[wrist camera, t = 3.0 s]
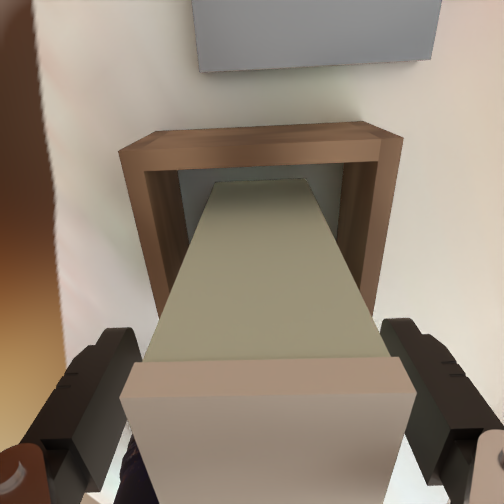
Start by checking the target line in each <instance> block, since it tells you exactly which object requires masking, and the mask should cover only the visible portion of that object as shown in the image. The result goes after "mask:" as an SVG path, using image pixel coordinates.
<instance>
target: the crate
mask: <svg viewBox="0 0 504 504" xmlns="http://www.w3.org/2000/svg"><path fill="white" fill-rule="evenodd" d="M403 139H404V138H403V137H401V136H398V135H396V134H393V133H391V132H388V131H386V130H383V129H381V128H379V127H376V126H374V125H371V124H369V123H366V122H364V121H359V122H339V123H318V124H297V125H277V126H256V127H235V128H215V129H194V130H173V131H155V132H153V133H151V134H150V135H148V136H146V137H144V138H142V139H140V140H138V141H136V142H134V143H132V144H131V145H129V146H127V147H125V148H123V149H121V150H119V151H118V153H119V157H120V161H121V165H122V169H123V173H124V177H125V181H126V185H127V189H128V194H129V198H130V202H131V206H132V210H133V214H134V218H135V222H136V226H137V230H138V235H139V239H140V243H141V247H142V251H143V255H144V259H145V263H146V267H147V271H148V276H149V280H150V284H151V288H152V292H153V296H154V300H155V304H156V308H157V313H158V317H159V319H160V317H161V314H162V312H163V310H164V307H165V305H166V302H167V300H168V297H169V295H170V292H171V290H172V287H173V285H174V282H175V280H176V278H177V275H178V273H179V270H180V268H181V265H182V263H183V260H184V258H185V255H186V253H187V250H188V248H189V240H188V234H187V227H186V221H185V215H184V209H183V203H182V196H181V190H180V184H179V178H178V172H177V170H184V169H207V168H230V167H252V166H275V165H298V164H321V163H344V165H343V176H342V187H341V198H340V209H339V220H338V231H337V242H336V243H337V245H338V247H339V249H340V251H341V254H342V256H343V258H344V260H345V262H346V264H347V266H348V268H349V270H350V272H351V274H352V277H353V279H354V281H355V283H356V285H357V287H358V289H359V291H360V293H361V295H362V298H363V300H364V302H365V304H366V306H367V308H368V310H369V312H370V314H371V316H373V310H374V305H375V299H376V293H377V287H378V282H379V276H380V270H381V265H382V259H383V253H384V247H385V242H386V236H387V230H388V225H389V219H390V213H391V207H392V202H393V196H394V190H395V185H396V179H397V173H398V167H399V162H400V156H401V150H402V145H403Z"/></svg>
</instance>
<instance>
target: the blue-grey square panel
mask: <svg viewBox="0 0 504 504" xmlns="http://www.w3.org/2000/svg"><path fill="white" fill-rule="evenodd" d="M441 3H442V0H192V8H193V17H194V26H195V35H196V45H197V54H198V63H199V72H201V73H208V72H226V71H244V70H263V69H281V68H299V67H317V66H336V65H354V64H372V63H390V62H408V61H423V60H431V55H432V50H433V45H434V39H435V34H436V29H437V24H438V19H439V13H440V8H441Z"/></svg>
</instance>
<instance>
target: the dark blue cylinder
mask: <svg viewBox="0 0 504 504" xmlns="http://www.w3.org/2000/svg"><path fill="white" fill-rule="evenodd" d="M120 480H121V482H120V485H119V488H118V491H117V494H116V497H115V500H114V503H113V504H159V501H158V498H157V496H156V493H155V490H154V488H153V485H152V483H151V480H150V477H149V475H148V472H147V469H146V467H145V464H144V462H143V459H142V456H141V454H140V451H139V448H138V446H137V443H136V441H135V438H134V435H133V433H132V435H131V438H130V442H129V444H128V449H127V452H126V453H125V455H124V457H123V459H122V466H121V469H120Z"/></svg>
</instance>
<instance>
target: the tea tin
mask: <svg viewBox="0 0 504 504" xmlns="http://www.w3.org/2000/svg"><path fill="white" fill-rule="evenodd" d="M416 394H417V392H416V390H415V388H414V386H413V384H412V382H411V380H410V378H409V376H408V374H407V372H406V370H405V368H404V366H403V364H402V362H401V360H400V358H399V357H391V356H390V354H389V352H388V350H387V348H386V346H385V344H384V341H383V339H382V337H381V335H380V333H379V331H378V329H377V327H376V325H375V323H374V321H373V318H372V316H371V314H370V312H369V310H368V308H367V306H366V304H365V302H364V300H363V298H362V295H361V293H360V291H359V289H358V287H357V285H356V283H355V281H354V279H353V277H352V274H351V272H350V270H349V268H348V266H347V264H346V262H345V260H344V258H343V256H342V254H341V251H340V249H339V247H338V245H337V243H336V241H335V239H334V237H333V235H332V233H331V230H330V228H329V226H328V224H327V222H326V220H325V218H324V216H323V214H322V212H321V210H320V207H319V205H318V203H317V201H316V199H315V197H314V195H313V193H312V191H311V189H310V186H309V184H308V182H307V180H306V178H303V179H280V180H256V181H232V182H215V184H214V186H213V189H212V191H211V194H210V196H209V199H208V201H207V204H206V206H205V209H204V211H203V214H202V216H201V218H200V221H199V223H198V226H197V228H196V231H195V233H194V236H193V238H192V241H191V243H190V246H189V248H188V250H187V253H186V255H185V258H184V260H183V263H182V265H181V268H180V270H179V273H178V275H177V278H176V280H175V282H174V285H173V287H172V290H171V292H170V295H169V297H168V300H167V302H166V305H165V307H164V310H163V312H162V314H161V317H160V319H159V322H158V324H157V327H156V329H155V332H154V334H153V337H152V339H151V341H150V344H149V346H148V349H147V351H146V354H145V356H144V359H143V361H142V362H135V363H134V365H133V367H132V370H131V372H130V374H129V377H128V379H127V381H126V383H125V386H124V388H123V390H122V393H121V395H120V397H119V399H120V401H121V404H122V406H123V409H124V412H125V414H126V417H127V420H128V422H129V425H130V427H131V430H132V433H133V435H134V438H135V441H136V443H137V446H138V448H139V451H140V454H141V456H142V459H143V462H144V464H145V467H146V469H147V472H148V475H149V477H150V480H151V483H152V485H153V488H154V490H155V493H156V496H157V498H158V501H159V504H383V501H384V498H385V495H386V491H387V488H388V485H389V482H390V478H391V475H392V472H393V469H394V465H395V462H396V459H397V456H398V452H399V449H400V446H401V443H402V440H403V436H404V433H405V430H406V427H407V423H408V420H409V417H410V414H411V410H412V407H413V404H414V401H415V397H416Z"/></svg>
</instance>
